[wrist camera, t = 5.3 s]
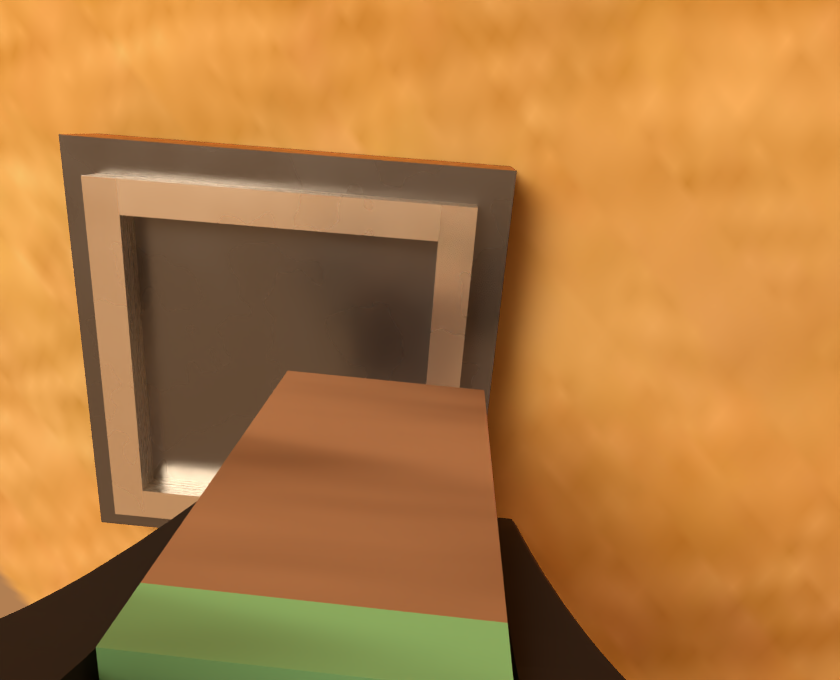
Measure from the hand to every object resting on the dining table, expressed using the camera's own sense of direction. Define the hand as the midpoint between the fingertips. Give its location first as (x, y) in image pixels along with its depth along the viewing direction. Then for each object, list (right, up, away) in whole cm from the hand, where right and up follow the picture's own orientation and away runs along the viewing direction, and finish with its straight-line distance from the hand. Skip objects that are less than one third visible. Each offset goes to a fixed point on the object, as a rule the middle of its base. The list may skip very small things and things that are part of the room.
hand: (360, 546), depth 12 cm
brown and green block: (0, +1, +3) cm, 3 cm away
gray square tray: (-3, +4, +9) cm, 11 cm away
